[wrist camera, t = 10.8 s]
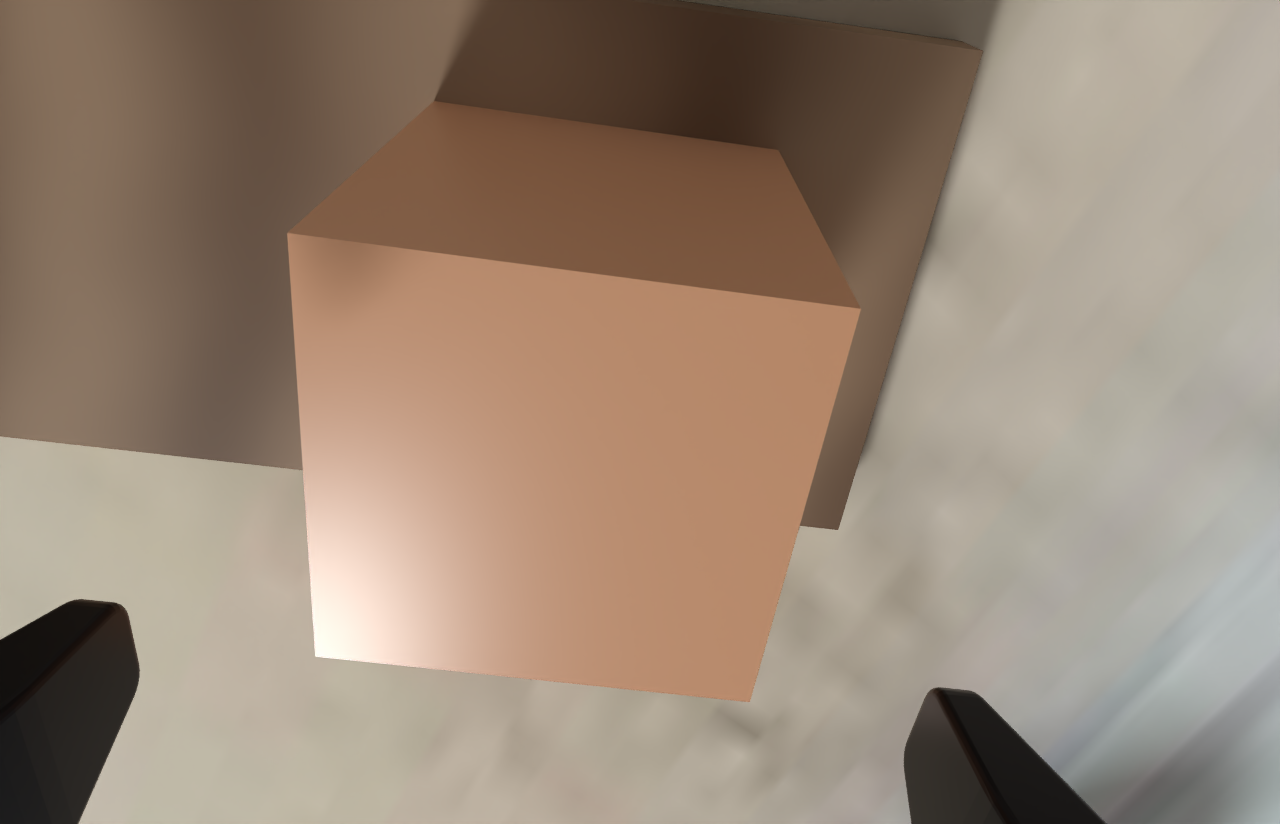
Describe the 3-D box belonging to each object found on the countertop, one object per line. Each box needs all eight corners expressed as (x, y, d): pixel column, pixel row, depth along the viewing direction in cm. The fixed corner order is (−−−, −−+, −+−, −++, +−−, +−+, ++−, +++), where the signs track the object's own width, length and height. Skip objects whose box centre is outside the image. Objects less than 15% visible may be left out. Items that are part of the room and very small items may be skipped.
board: (-344, 365, 19) (-401, 391, 18) (-608, -185, 14) (-708, -192, 13) (828, 498, 21) (838, 529, 20) (961, 41, 16) (983, 51, 15)
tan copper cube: (428, 403, 18) (315, 656, 12) (433, 100, 15) (287, 233, 9) (717, 438, 18) (749, 702, 12) (778, 150, 15) (861, 309, 9)
